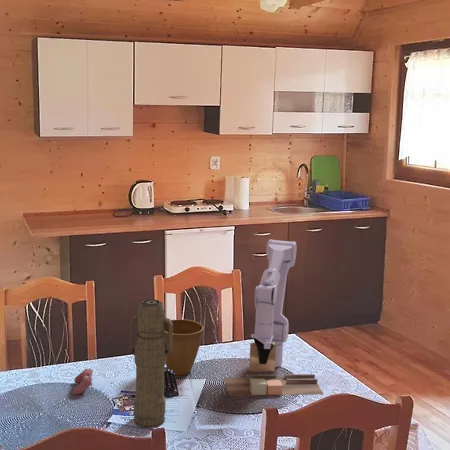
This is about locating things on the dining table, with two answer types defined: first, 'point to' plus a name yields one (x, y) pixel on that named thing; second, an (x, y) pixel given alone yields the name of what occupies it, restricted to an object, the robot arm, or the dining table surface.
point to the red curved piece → (83, 381)
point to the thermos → (150, 362)
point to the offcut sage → (258, 386)
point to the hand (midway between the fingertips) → (262, 361)
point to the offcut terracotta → (274, 387)
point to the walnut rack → (290, 382)
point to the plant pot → (183, 345)
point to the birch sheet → (254, 359)
